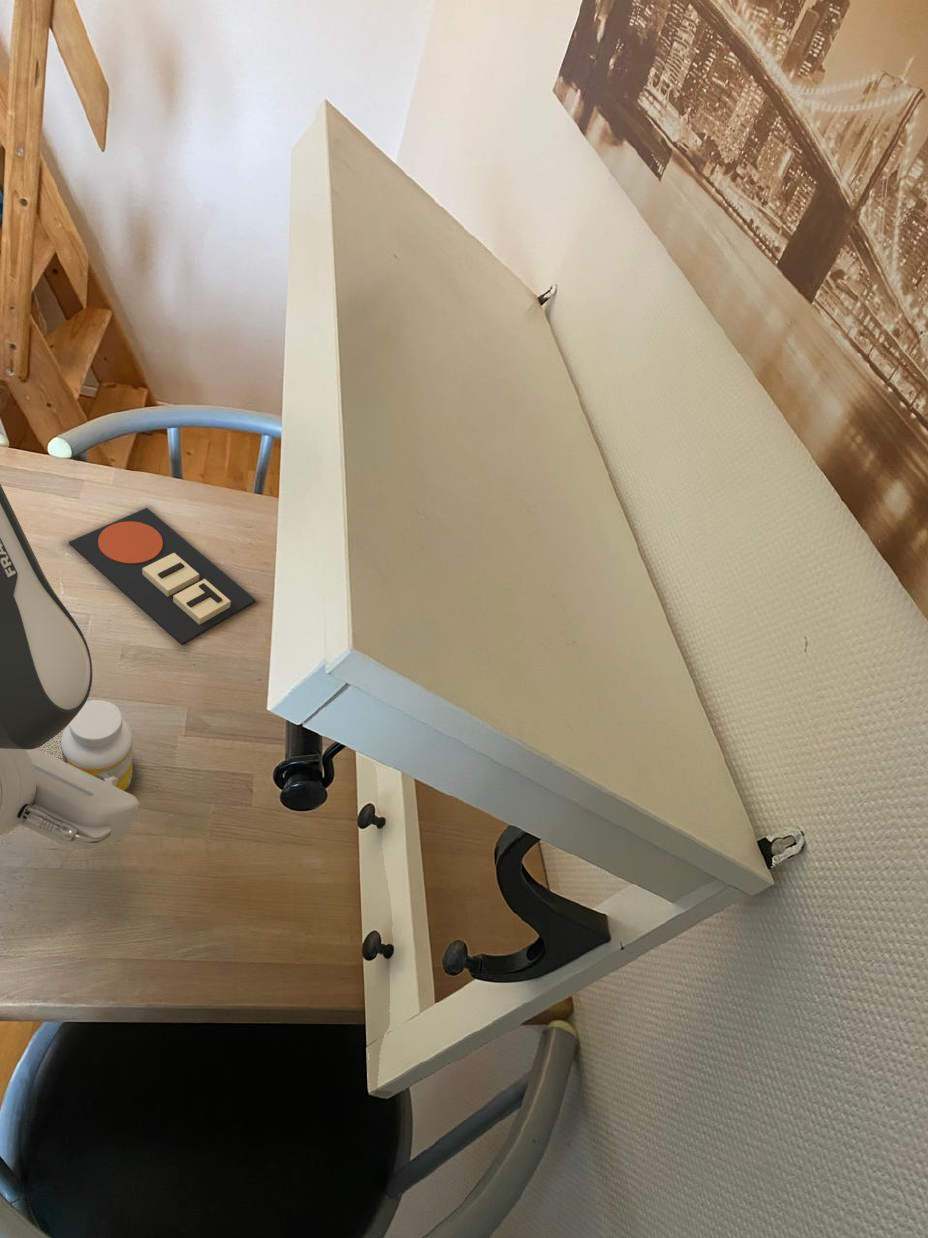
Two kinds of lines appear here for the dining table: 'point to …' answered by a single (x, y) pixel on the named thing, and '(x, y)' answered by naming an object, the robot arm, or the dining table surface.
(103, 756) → the pill bottle
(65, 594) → the dining table surface
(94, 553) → the letter mat
